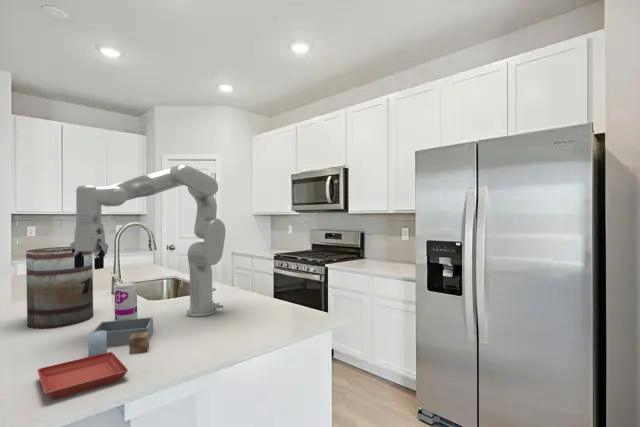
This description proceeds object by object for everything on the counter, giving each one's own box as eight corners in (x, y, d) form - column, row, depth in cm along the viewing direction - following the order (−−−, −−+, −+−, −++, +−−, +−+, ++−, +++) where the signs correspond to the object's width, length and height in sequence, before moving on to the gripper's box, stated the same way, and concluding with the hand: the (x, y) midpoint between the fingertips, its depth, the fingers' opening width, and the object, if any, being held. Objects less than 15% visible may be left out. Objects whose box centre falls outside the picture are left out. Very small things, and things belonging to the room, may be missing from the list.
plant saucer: (112, 361, 109) (111, 350, 109) (129, 381, 96) (129, 369, 96) (36, 380, 97) (36, 368, 97) (44, 407, 84) (44, 393, 84)
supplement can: (127, 323, 145) (127, 286, 145) (110, 322, 146) (109, 286, 146) (141, 317, 153) (141, 282, 153) (124, 316, 154) (124, 282, 154)
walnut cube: (149, 346, 120) (148, 331, 120) (146, 352, 115) (146, 336, 115) (132, 348, 118) (132, 333, 118) (129, 354, 114) (129, 338, 114)
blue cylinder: (108, 351, 116) (108, 329, 116) (104, 356, 111) (104, 334, 111) (91, 353, 115) (90, 331, 115) (86, 359, 110) (85, 336, 110)
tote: (153, 330, 136) (152, 317, 136) (147, 342, 123) (147, 328, 123) (101, 335, 131) (101, 322, 131) (90, 348, 118) (90, 333, 118)
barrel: (105, 314, 158) (104, 246, 158) (57, 331, 136) (56, 252, 136) (65, 311, 164) (64, 246, 164) (12, 326, 142) (11, 251, 142)
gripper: (116, 220, 128) (116, 267, 128) (81, 219, 134) (81, 265, 134) (97, 220, 121) (97, 271, 121) (61, 220, 127) (61, 268, 127)
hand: (89, 268), depth 127 cm, fingers open, 9 cm apart
